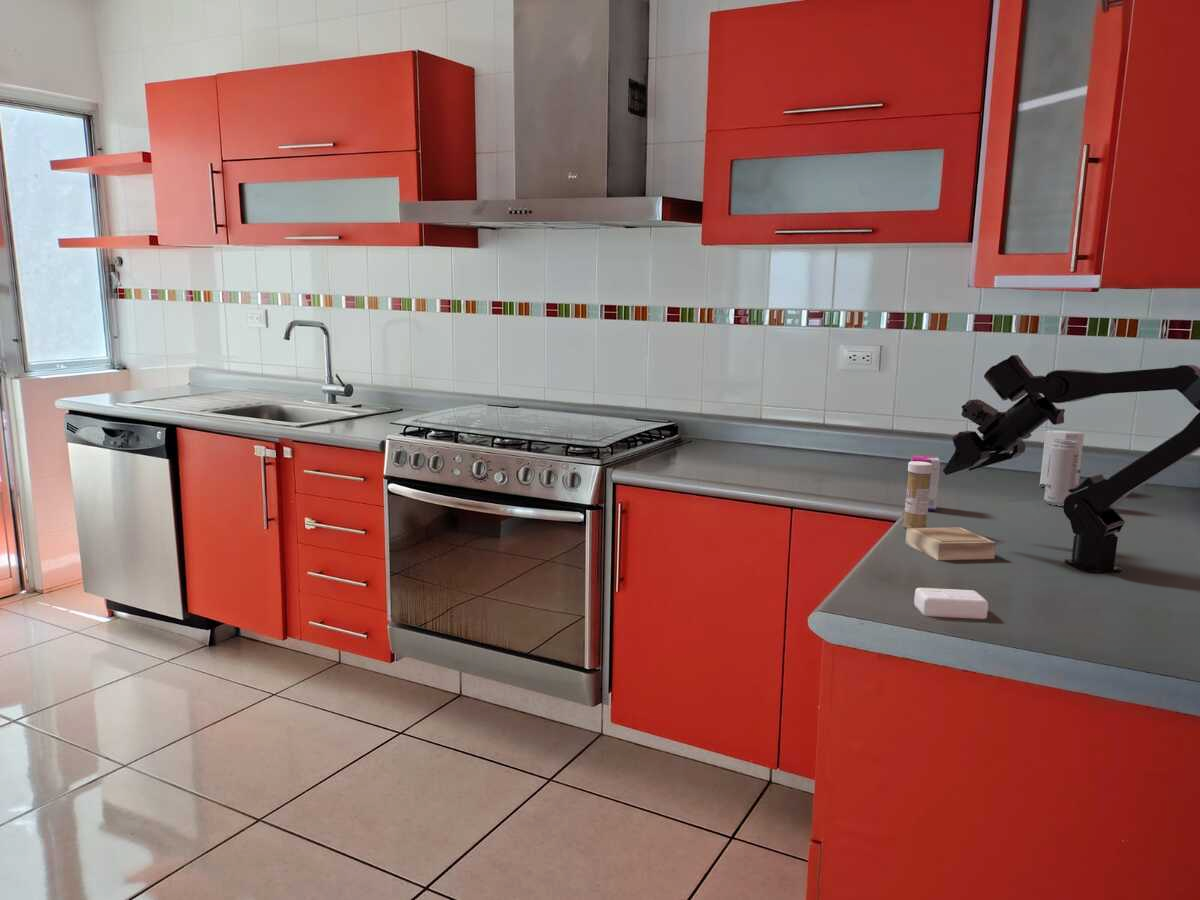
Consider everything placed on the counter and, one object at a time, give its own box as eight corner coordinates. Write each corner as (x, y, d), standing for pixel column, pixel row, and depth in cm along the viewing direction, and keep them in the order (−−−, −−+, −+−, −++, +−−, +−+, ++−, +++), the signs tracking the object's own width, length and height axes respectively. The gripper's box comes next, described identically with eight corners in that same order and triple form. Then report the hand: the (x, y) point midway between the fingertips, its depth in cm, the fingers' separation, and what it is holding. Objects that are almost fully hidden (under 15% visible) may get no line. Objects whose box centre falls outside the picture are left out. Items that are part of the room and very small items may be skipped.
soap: (974, 608, 132) (976, 589, 131) (988, 621, 126) (990, 601, 126) (912, 605, 132) (914, 585, 132) (923, 618, 127) (925, 597, 126)
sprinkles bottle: (898, 525, 182) (904, 460, 180) (920, 525, 182) (926, 460, 180) (908, 531, 177) (914, 464, 175) (930, 531, 178) (936, 464, 176)
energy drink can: (1044, 500, 212) (1051, 438, 210) (1073, 504, 209) (1080, 440, 207) (1042, 504, 207) (1049, 441, 205) (1071, 508, 204) (1079, 443, 202)
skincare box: (1060, 492, 223) (1066, 433, 221) (1037, 487, 229) (1043, 430, 226) (1079, 489, 228) (1086, 432, 226) (1056, 485, 233) (1063, 428, 231)
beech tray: (994, 558, 158) (996, 541, 158) (937, 560, 156) (939, 542, 156) (958, 542, 169) (960, 526, 169) (905, 543, 167) (906, 527, 166)
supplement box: (933, 506, 201) (938, 456, 200) (936, 511, 196) (941, 460, 194) (906, 504, 203) (911, 454, 201) (908, 509, 197) (913, 458, 196)
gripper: (1015, 384, 171) (955, 434, 181) (968, 388, 159) (906, 440, 169) (1053, 430, 167) (989, 478, 177) (1007, 437, 155) (941, 488, 165)
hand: (956, 470), depth 172 cm, fingers open, 9 cm apart
